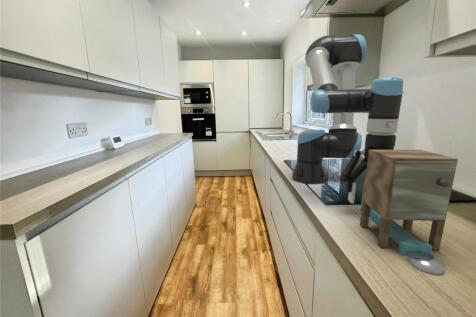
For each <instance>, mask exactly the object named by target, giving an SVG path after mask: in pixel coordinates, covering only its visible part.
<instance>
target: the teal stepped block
mask: <svg viewBox="0 0 476 317" xmlns="http://www.w3.org/2000/svg"><path fill="white" fill-rule="evenodd" d="M362 185H363V186H362V194H361V202H360V209H359V210H360V212H362V203H363V195H364V186H365V181H363V184H362ZM369 219H371V220H372V222H374V223H375V224H376V225H377V226H378V227H379V228H380V222H381V216H380V215H379V214H378V213H377V212H376V211H374V210H373V209H372V208H370V216H369ZM389 238H391V239H392V240H393V241H394V242H395V244H397V245H398V252H399V254H401V255H402V256H409V253H410V252H411V251H421V252H426V253H429V254H431V255H432V252H433V250H432V246H431V245H430V244H429V243H428V242H425V241H424V242H423V241H420V240H418V239H417V238H416V237H415V236H413V234H411V233H410V232H409V231H407V229H405V228H404V227H403V226H402V225H400V224H399V223H398V222H396V220H391V227H390V234H389Z"/></svg>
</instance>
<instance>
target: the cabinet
mask: <svg viewBox="0 0 476 317" xmlns="http://www.w3.org/2000/svg"><path fill="white" fill-rule="evenodd" d="M458 159H459V158H456V157H452V156H448V155H444V154H439V153H436V152H430V151H428V150H427V151H426V150H423V149H394V150H369V152H368V161H367V168H366V169H365V171H366V172H365V179H364V182H365V186H364V195H363V203H362V212H361V211H360V212H361V213H360V222H359V225H360V227H361V228H362V229H363V228H365V229H368V228H369V221H370V217H369V216H370V208H372V209H373V210H374V211H376V212H377V213H378V214H379V215H380V216H381V222H380V227H379V230H378V236H377V246H378V247H379V248H380V249H388V246H389V239H390V236H389V234H390V227H391V220H394V221H396V220H398V221H402V228H404V229H405V230H412V229H413V224H414V221H427V222H431V226H430V227H431V228H430V232H429V235H428V242H427V243H429V244H430V245H431V246H432V251H437V252H438V251H440V248H441V243H442V238H443V234H444V229H445V224H446V218H447V213H448V210H449V205H450V199H451V194H452V189H453V185H454V180H455V176H456V171H457V165H458V161H459V160H458Z"/></svg>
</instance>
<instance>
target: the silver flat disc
mask: <svg viewBox="0 0 476 317" xmlns="http://www.w3.org/2000/svg"><path fill="white" fill-rule="evenodd" d="M407 256H408V258H407V261H408V263H409V264H410V265H411V266H412V267H414V268H415V269H417V270H418V271H420V272H423V273H425V274H429V275H433V276H441V275H443V274H445V270H446V268H447V266H446V264H445V262H444V261H443V260H442V259H440V258H439V257H437V256H435V255H434V254H432V253H431V254H429V253H426V252H421V251H411V252H410V253H409V255H407Z"/></svg>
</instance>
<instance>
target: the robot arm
mask: <svg viewBox="0 0 476 317" xmlns="http://www.w3.org/2000/svg"><path fill="white" fill-rule="evenodd" d="M366 54H367V41H366V39H365V37H364V36H363V35H362V34H359V33H358V34H354V33H350V34H337V35H335V34H334V35H324V36H321V37H319V38H316V39H315V40H314V41H313V42H312V43H311V44H310V45H309V46H308V47H307V50H306V53H305V57H304V58H305V59H304V60H305V64H306V66H307V68H309V71H310V76H311V79H312V84H313V88H314V90H313V91H312V92H311V96H310V110H311V112H313V113H316V114H332V124H331V126H330V127H329V128H328V132H326V130H325V129H321V128H320V129H311V130H305V131H301V132H299V133H298V136H297V150H296V152H297V153H296V154H297V155H296V164H295V166H294V169H293V171H292V176H291V177H292V180H293V181H296V182H298V183H302V184H308V185H309V184H313V185H316V184H315V183H317V184H322V183H321V182H323V183H325V182H326V177H327V175H326V173H325V168H324V165H323V164H324V163H323V162H324V159H343V160H344V159H350V160H349V161H348V163H347V165H346V167H345V168H344V170H343V171H342V173H341V175H340V178H341V179H342V180H343V181H344V182H345V181H346V187H345V188H346V192H348V196H347V201H349V203H350V204H355V195H356V188H357V183H356V182H355V181H356V180H357V179H358V178H359V176H361V175H362V173H364V171H366V169H367V161H368V152H369V150H395V146H396V142H397V141H396V140H397V135H395V134H397V131H398V127H399V126H398V125H399V118H400V113H401V112H400V110H401V106H402V99H403V93H404V90H403V89H404V80H403V78H401V77H398V76H397V77H396V76H395V77H393V76H392V77H389V76H388V77H380V78H375V79H374V80H372V83H371V86H370V88H361V89H360V88H359V89H358V88H357V89H356V76H357V75H356V74H357V72H356V71H357V69H358V68H359V67H360V66H361V64H362V63H363V62H364V61H365V58H366ZM355 113H356V114H359V113H360V114H361V113H362V114H365V113H366V114H368V115H367V122H366V129H365V130H366V132H367V133H366V135H365V141H364V149H363V150H361V149H362V144H363V138H362V134H361V133H360V132H358V131H357V130H358V129H357V127H356V126H355V125H354V118H355V117H354V116H355ZM363 156H364V158H363V159H362V160H361V161H360V159H361V158H362V157H363ZM359 161H360V163H359V164H358V162H359ZM357 164H358V165H357ZM324 181H325V182H324Z"/></svg>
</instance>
